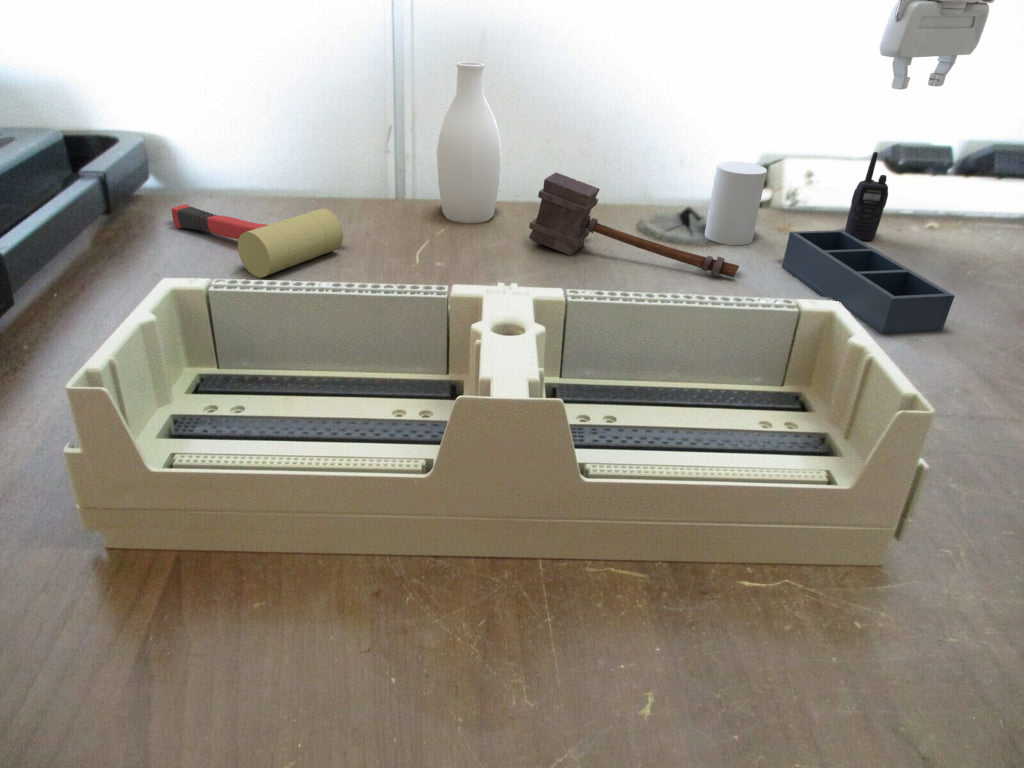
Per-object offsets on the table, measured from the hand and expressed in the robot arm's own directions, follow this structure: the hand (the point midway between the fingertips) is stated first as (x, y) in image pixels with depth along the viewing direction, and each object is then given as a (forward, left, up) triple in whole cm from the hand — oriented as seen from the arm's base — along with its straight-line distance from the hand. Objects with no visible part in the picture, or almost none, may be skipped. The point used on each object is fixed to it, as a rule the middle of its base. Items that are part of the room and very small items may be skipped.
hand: (917, 87), depth 119 cm
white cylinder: (+23, -7, -26) cm, 36 cm away
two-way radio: (-1, -5, -26) cm, 26 cm away
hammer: (+44, +2, -26) cm, 52 cm away
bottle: (+67, -22, -26) cm, 75 cm away
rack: (+16, +20, -26) cm, 37 cm away
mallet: (+104, -10, -26) cm, 108 cm away
